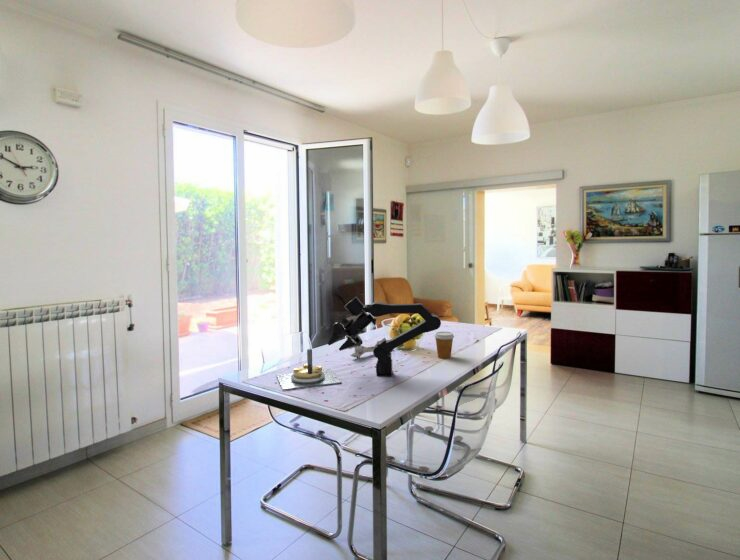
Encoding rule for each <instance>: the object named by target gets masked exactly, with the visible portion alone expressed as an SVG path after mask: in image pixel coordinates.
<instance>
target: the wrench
mask: <svg viewBox="0 0 740 560" xmlns="http://www.w3.org/2000/svg"><path fill="white" fill-rule="evenodd" d="M374 346H375V345H369V346H367V345H366V346H363V345H360V346H357V347H352V348H348V349H349V350H351V349H354V351H353V352H351V353H350V355H349V356H350V357H352V358H357V357H358V358H357V359H360V358H361V356H362V355H364V354H365V353H373V350H374ZM359 357H360V358H359Z"/></svg>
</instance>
